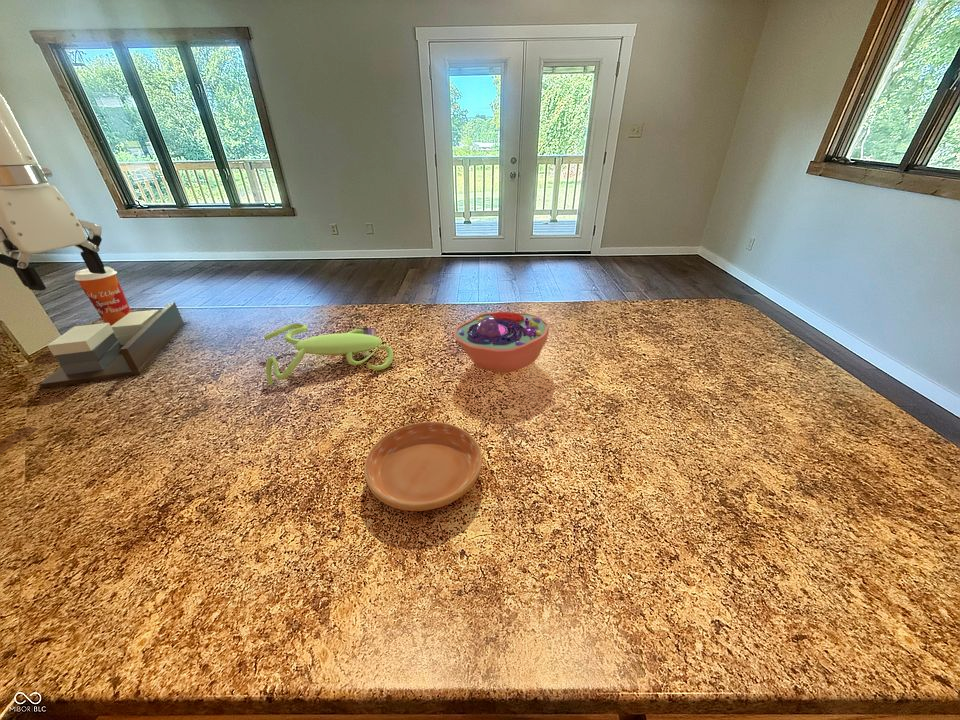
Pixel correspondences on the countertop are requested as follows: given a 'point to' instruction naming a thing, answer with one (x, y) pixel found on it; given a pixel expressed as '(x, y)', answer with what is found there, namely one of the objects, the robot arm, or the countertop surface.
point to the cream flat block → (80, 339)
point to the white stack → (132, 324)
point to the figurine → (328, 347)
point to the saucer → (423, 466)
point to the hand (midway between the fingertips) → (70, 280)
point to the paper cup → (104, 294)
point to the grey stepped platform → (129, 351)
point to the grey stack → (91, 357)
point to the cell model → (502, 340)
